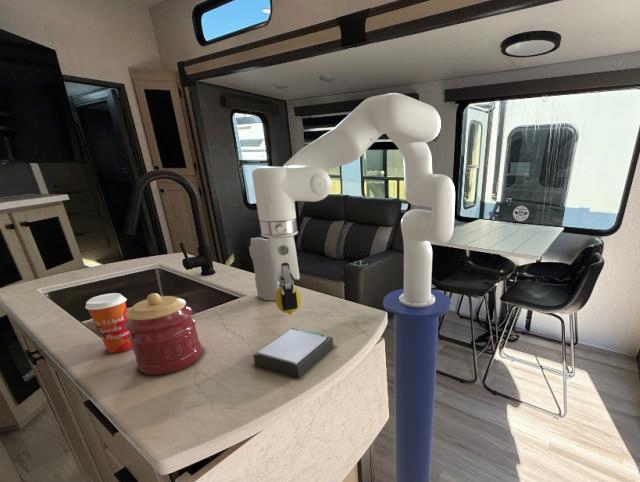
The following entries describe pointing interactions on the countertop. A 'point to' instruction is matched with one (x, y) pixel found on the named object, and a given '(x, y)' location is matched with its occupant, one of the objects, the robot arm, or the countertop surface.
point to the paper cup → (110, 320)
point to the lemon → (279, 300)
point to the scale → (294, 352)
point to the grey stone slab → (263, 269)
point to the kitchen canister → (162, 334)
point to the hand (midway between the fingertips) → (289, 303)
